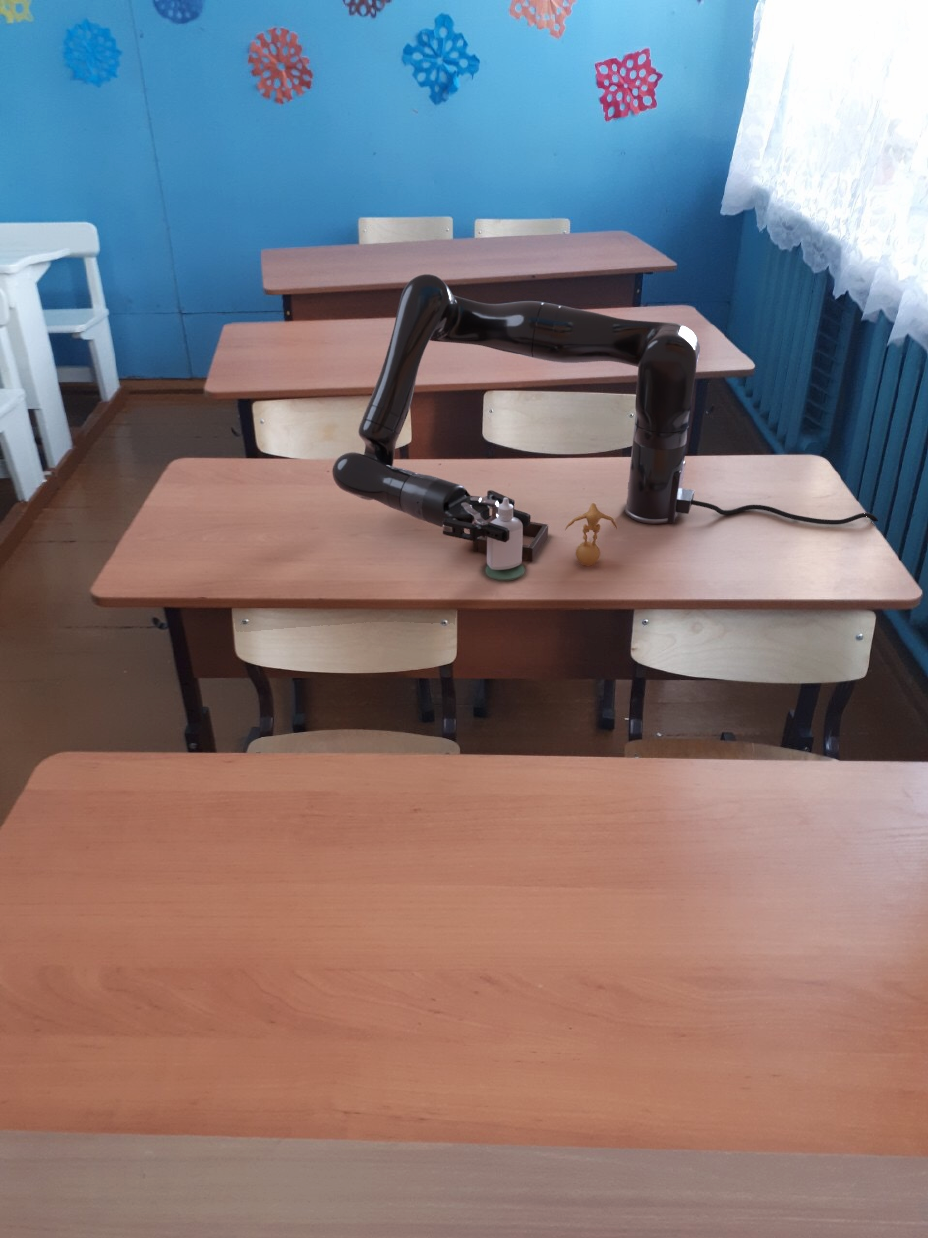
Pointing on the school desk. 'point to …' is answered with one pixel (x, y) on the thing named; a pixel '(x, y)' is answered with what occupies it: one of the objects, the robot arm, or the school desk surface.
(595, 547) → the figurine
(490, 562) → the eye dropper bottle
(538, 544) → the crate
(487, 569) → the coaster
